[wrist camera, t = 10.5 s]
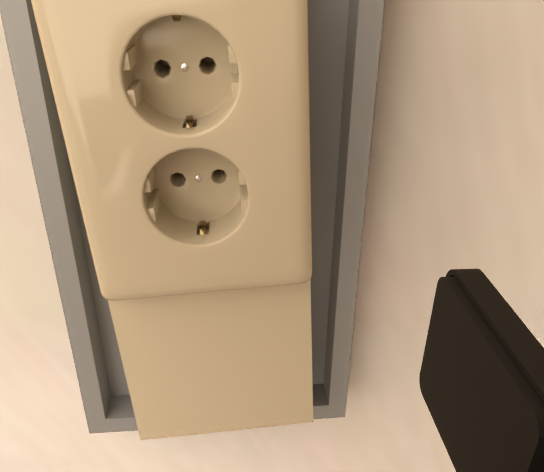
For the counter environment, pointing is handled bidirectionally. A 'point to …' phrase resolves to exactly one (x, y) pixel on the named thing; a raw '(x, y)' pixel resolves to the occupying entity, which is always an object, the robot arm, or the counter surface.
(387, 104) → the counter surface
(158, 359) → the electrical outlet
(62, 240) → the grey rectangular tray
